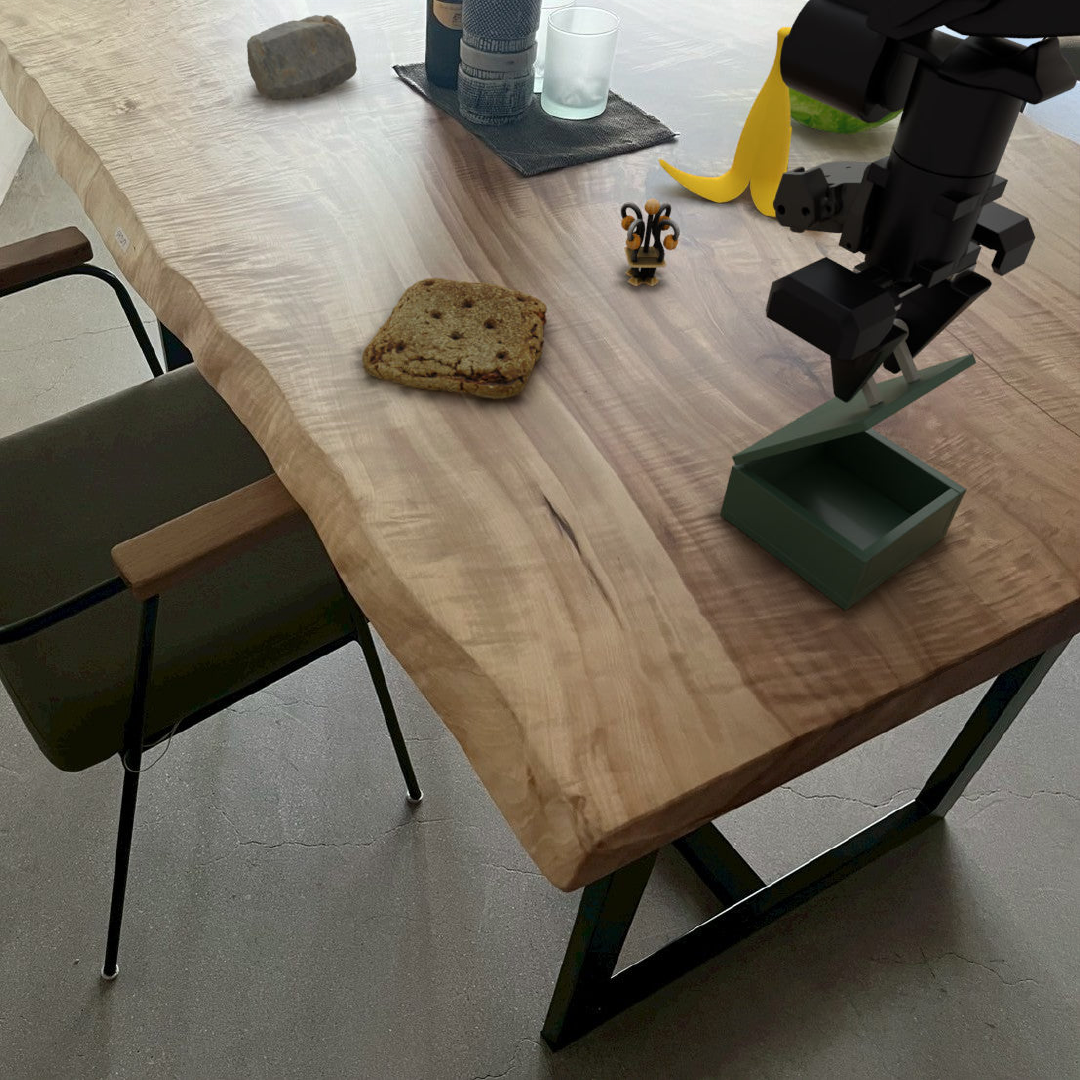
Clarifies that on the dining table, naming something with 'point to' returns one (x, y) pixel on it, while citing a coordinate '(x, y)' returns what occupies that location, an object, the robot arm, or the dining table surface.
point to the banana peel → (753, 148)
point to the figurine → (647, 240)
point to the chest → (843, 511)
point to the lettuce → (828, 116)
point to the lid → (858, 406)
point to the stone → (301, 58)
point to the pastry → (459, 339)
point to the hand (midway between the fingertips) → (866, 384)
